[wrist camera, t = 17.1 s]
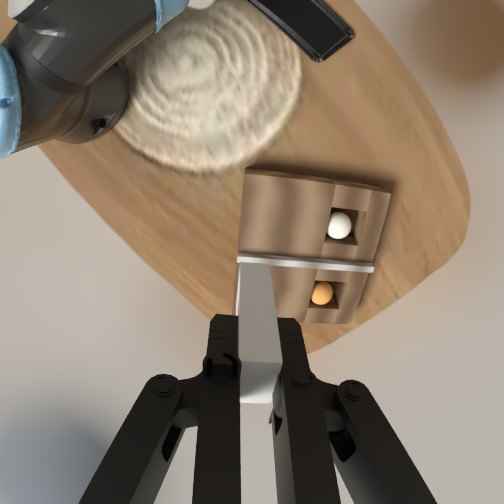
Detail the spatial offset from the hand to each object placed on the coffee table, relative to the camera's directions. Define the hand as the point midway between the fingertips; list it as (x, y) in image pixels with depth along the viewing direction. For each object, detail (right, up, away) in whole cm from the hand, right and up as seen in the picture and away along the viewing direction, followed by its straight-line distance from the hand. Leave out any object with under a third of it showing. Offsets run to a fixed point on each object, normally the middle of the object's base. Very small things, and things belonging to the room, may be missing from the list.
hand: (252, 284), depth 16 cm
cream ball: (+13, +6, +27) cm, 30 cm away
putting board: (+8, +2, +31) cm, 32 cm away
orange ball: (+11, -5, +33) cm, 35 cm away
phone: (+6, +34, +15) cm, 38 cm away
